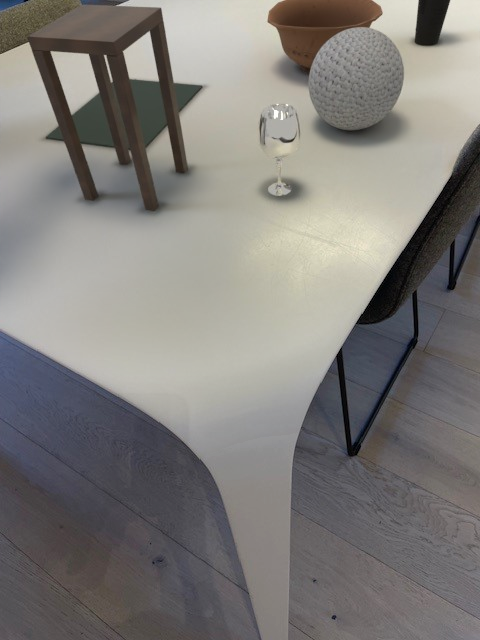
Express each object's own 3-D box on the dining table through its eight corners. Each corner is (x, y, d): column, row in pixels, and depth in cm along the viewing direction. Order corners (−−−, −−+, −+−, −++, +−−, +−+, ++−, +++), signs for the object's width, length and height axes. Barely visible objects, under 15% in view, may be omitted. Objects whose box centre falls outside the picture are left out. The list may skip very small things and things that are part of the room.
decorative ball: (410, 138, 81) (430, 39, 70) (322, 153, 80) (328, 54, 69) (375, 100, 91) (387, 8, 80) (297, 113, 90) (298, 21, 79)
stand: (85, 200, 75) (26, 36, 58) (123, 160, 83) (81, 4, 66) (154, 212, 72) (113, 42, 55) (188, 169, 79) (161, 7, 62)
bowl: (256, 87, 98) (253, 26, 90) (282, 46, 112) (282, -10, 104) (368, 94, 93) (375, 29, 85) (381, 49, 107) (389, -9, 98)
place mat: (46, 140, 90) (45, 136, 89) (117, 80, 106) (117, 77, 105) (142, 153, 84) (142, 149, 84) (202, 88, 100) (202, 85, 99)
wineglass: (289, 176, 76) (289, 98, 67) (305, 195, 72) (308, 115, 63) (254, 185, 75) (250, 107, 66) (269, 205, 71) (267, 126, 62)
